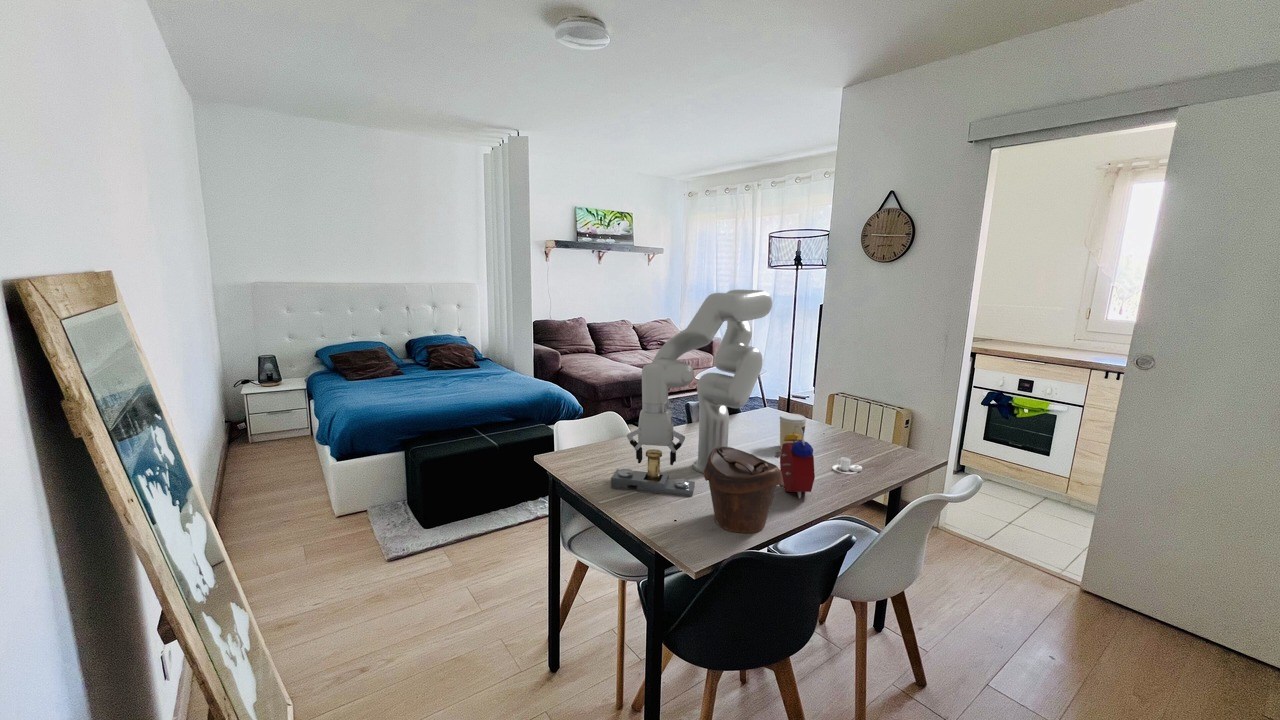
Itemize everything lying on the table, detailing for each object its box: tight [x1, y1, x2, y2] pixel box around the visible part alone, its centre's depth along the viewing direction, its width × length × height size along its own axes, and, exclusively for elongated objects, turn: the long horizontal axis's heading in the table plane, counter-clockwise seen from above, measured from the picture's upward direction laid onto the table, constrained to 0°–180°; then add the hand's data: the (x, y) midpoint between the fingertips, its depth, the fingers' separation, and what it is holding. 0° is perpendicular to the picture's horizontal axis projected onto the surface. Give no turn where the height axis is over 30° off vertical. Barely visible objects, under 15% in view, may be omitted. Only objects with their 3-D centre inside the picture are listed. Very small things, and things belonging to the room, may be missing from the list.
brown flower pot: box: [703, 446, 784, 534], centre depth 129 cm, size 18×20×18 cm
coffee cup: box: [779, 413, 807, 449], centre depth 187 cm, size 9×9×12 cm
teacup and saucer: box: [831, 456, 863, 475], centre depth 167 cm, size 9×8×4 cm
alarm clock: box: [774, 426, 816, 499], centre depth 149 cm, size 15×9×20 cm, turn 179°
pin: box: [645, 448, 663, 481], centre depth 151 cm, size 5×5×11 cm
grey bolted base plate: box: [610, 468, 696, 497], centre depth 151 cm, size 24×8×4 cm, turn 78°
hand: (656, 462), depth 151 cm, fingers open, 9 cm apart
